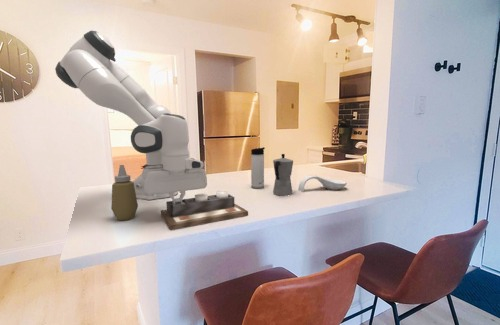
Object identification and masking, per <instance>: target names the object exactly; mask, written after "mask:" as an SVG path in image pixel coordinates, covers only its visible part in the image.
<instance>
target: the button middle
mask: <svg viewBox="0 0 500 325" xmlns="http://www.w3.org/2000/svg"><path fill="white" fill-rule="evenodd" d="M208 196H209V195H208V194H207V193H197V194H195V195H194V198H195V201H196V202H201V201H208Z"/></svg>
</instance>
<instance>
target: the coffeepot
mask: <svg viewBox="0 0 500 325" xmlns="http://www.w3.org/2000/svg"><path fill="white" fill-rule="evenodd" d="M280 155H281V157H280V158H276V159H273V160H272V163H273V169H274V175H275V177H274V178H275V179H274V185H273V190H272V191H273V192H272V193H273V195H275V196H277V197H288V195H289V196H292V195H293V189H292V188H293V185H292V180H291V176H292V172H293V167H294V165H293V164H294V160H293V159H290V158H285V155H286V154H285V153H281V154H280Z"/></svg>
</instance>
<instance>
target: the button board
mask: <svg viewBox="0 0 500 325" xmlns="http://www.w3.org/2000/svg"><path fill="white" fill-rule="evenodd" d="M207 196H208V201H201V202H196V201H195V197H190V198H183V199H182V202H184V203H185V204H180V205H174V206H172V204H173V202H172V200H169V201H168V200H167V201H166V202H165V203H166V205H165V206H166V209H163V210H161V209H160V216H161V217H162V219H163V221H164V222H165V223H166V225H167V227H168V228H169V229H170V231H173V230H174V231H175V230H179V229H184V228H185V229H186V228H190V227H195V226H199V225H206V224H210V223H211V224H212V223H216V222H220V221H221V222H222V221H226V220H232V219H238V218H241V217H242V218H243V217H248V216H249V211H248V210H246V209H245V208H243V207H242V206H240V205H238V204H236V203H235V196H233V195H231V194H230V193H228V198H221V199H218V198H216V194H211V195H207Z"/></svg>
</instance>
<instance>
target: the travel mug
mask: <svg viewBox="0 0 500 325" xmlns="http://www.w3.org/2000/svg"><path fill="white" fill-rule="evenodd" d="M265 149H266V147H257V148H252V149H251V153H250V154H251V156H250V164H251V166H250V167H251V169H250V170H251V172H250V174H251V177H250V178H251V180H250V181H251V183H250V184H251V185H250V186H251V188H252V189H254V190H259V189H260V190H263V189H265V188H264V187H265V153H264V152H265Z"/></svg>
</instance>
